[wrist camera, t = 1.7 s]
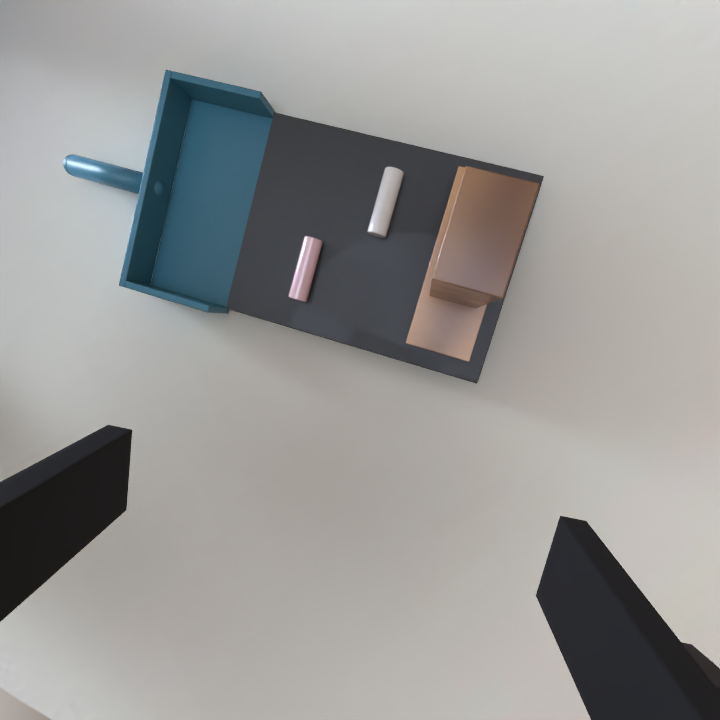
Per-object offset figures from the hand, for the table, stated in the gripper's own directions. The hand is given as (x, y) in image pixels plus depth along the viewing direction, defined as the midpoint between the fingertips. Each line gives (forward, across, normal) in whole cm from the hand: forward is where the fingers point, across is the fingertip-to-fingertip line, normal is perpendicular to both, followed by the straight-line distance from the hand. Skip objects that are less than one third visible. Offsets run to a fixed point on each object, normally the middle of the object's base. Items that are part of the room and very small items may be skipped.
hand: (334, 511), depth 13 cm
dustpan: (+24, -19, +10) cm, 33 cm away
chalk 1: (+20, -6, +6) cm, 22 cm away
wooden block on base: (+20, +5, +8) cm, 22 cm away
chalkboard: (+22, -1, +9) cm, 24 cm away
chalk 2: (+20, -1, +12) cm, 24 cm away
